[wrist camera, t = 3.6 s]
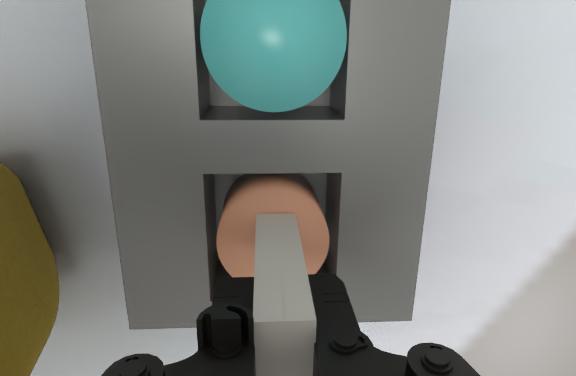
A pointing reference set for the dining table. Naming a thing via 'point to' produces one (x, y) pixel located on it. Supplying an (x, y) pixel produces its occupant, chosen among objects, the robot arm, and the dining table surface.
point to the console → (266, 152)
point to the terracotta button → (269, 200)
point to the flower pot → (23, 280)
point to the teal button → (273, 49)
